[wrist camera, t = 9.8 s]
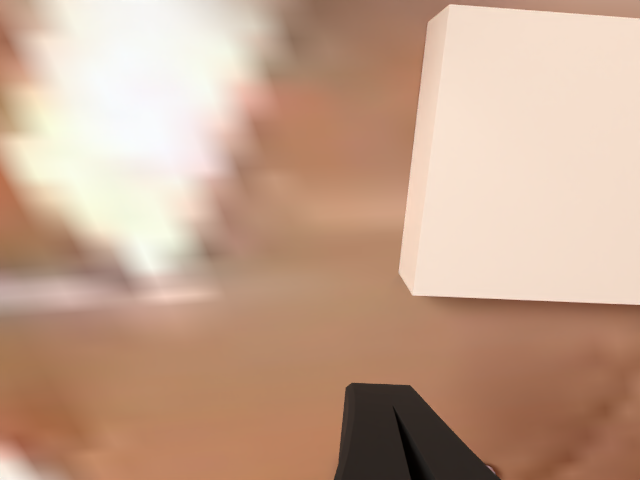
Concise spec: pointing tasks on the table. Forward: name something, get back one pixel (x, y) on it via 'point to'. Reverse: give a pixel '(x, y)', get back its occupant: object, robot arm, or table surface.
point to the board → (526, 158)
